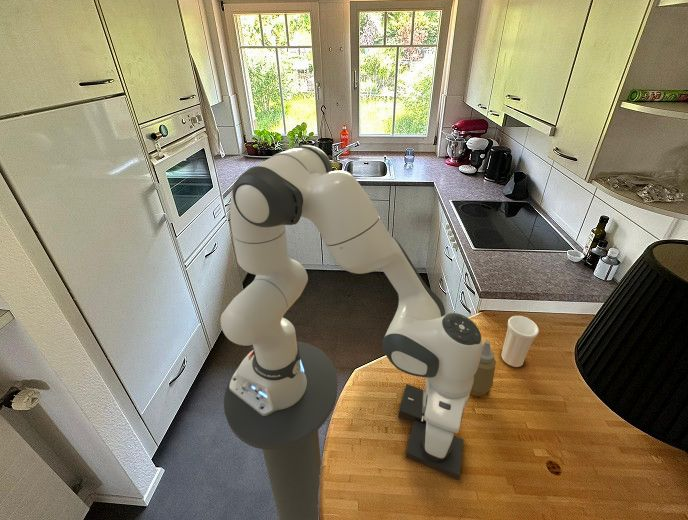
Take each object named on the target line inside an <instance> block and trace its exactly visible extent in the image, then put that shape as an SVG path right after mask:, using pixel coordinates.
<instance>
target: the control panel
mask: <svg viewBox="0 0 688 520" xmlns="http://www.w3.org/2000/svg"><path fill="white" fill-rule="evenodd" d="M423 391H424V388H419V387H417V386H414V385H411V384H408V383H406V384H405V387H404V391H403V395H402V399H401V402H400V406H399V410H398V418H399V419H402V420H405V421H407V422H410V423H412V424H413V421H414V420H415V421H418V422H420V423H423V424H425V425H426V421H425V420H424V415H425V414H423V413H422V409H423Z"/></svg>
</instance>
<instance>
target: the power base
mask: <svg viewBox="0 0 688 520" xmlns="http://www.w3.org/2000/svg"><path fill="white" fill-rule="evenodd" d="M425 433H426V425H425V424H423V423H420V422H418V421H415V420H414V421H413V423H412V426H411V430H410V435H409V439H408V444H407V448H406V452H405V458H406V459H408V460H411V461H413V462H415V463H418V464H420V465H423V466H424V467H426V468H429V469H431V470H434V471H436V472H439V473H441V474H444V475H446V476H447V477H449V478H452V479H454V480H457V481H459V480H460V476H461V469H462V460H463V459H462V457H463V450H464V449H463V448H464V438H461V437H459V436H456V435H454V436H453V439H452V442H451V445H450V447H449V449H448V452H447V454H446V456H445V457H444V458H438V457H435V456H433V455H431V454H429V453H427V452H426V450H425Z"/></svg>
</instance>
